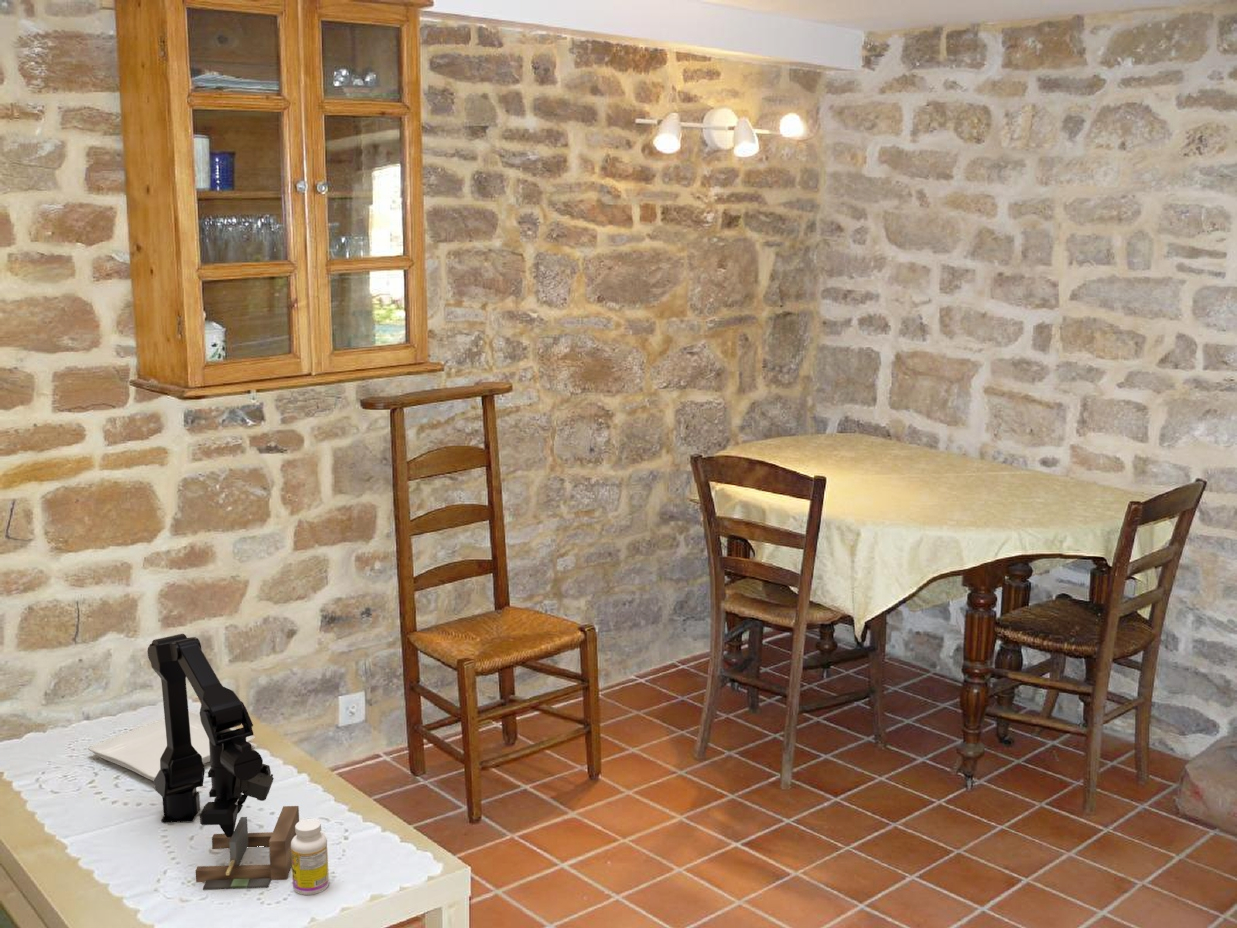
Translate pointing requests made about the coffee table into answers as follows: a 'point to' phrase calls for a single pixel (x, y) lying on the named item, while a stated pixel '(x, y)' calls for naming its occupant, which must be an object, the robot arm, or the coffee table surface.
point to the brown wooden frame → (255, 873)
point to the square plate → (150, 746)
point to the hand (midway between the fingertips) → (230, 836)
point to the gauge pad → (238, 843)
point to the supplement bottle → (309, 858)
